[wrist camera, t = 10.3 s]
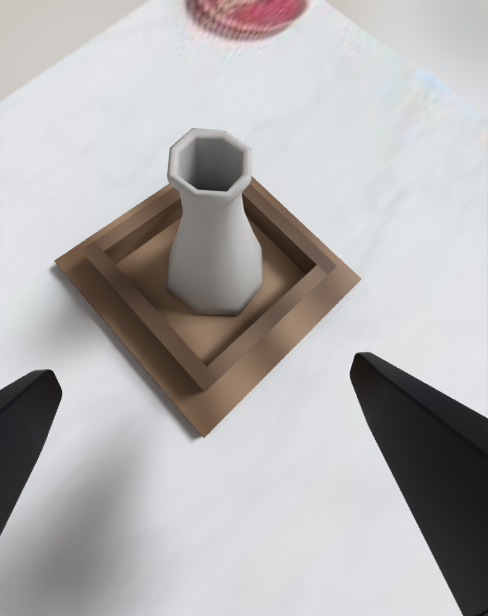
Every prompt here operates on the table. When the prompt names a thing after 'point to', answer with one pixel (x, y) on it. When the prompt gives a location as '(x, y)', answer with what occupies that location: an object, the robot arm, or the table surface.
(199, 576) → the table surface
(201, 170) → the flask
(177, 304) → the holder
